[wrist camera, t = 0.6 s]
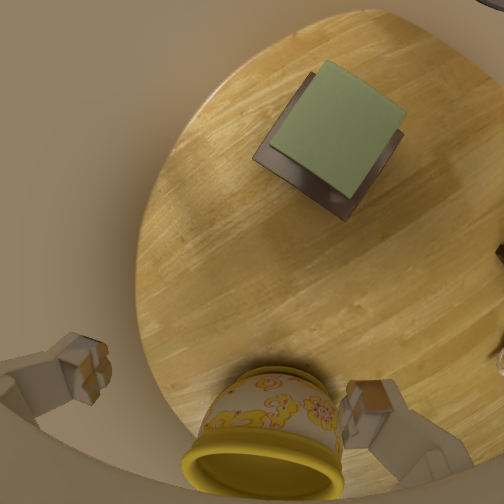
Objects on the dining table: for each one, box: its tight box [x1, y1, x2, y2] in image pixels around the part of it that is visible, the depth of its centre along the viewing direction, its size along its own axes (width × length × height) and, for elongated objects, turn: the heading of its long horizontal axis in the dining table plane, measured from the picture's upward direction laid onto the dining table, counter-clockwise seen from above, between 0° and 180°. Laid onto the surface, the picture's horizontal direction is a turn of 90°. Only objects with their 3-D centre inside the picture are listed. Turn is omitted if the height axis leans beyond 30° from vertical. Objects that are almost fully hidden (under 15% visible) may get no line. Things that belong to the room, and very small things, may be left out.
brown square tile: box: [252, 72, 404, 222], centre depth 26 cm, size 11×11×3 cm
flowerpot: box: [181, 366, 345, 501], centre depth 29 cm, size 18×18×16 cm
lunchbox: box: [269, 60, 406, 200], centre depth 20 cm, size 6×7×10 cm
